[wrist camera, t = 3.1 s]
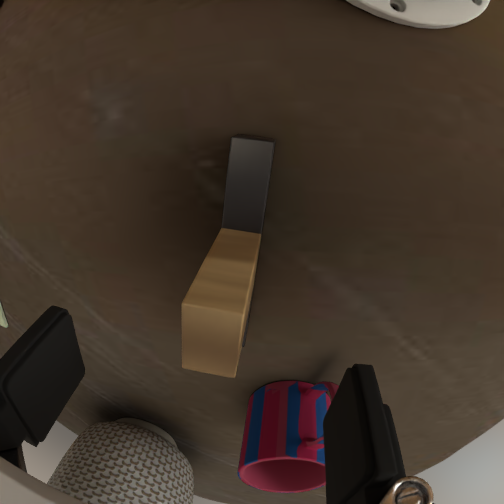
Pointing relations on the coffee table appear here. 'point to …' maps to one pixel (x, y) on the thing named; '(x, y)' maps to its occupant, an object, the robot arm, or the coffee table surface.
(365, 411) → the robot arm
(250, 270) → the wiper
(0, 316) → the mat
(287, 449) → the cup
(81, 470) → the planter
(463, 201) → the coffee table surface
